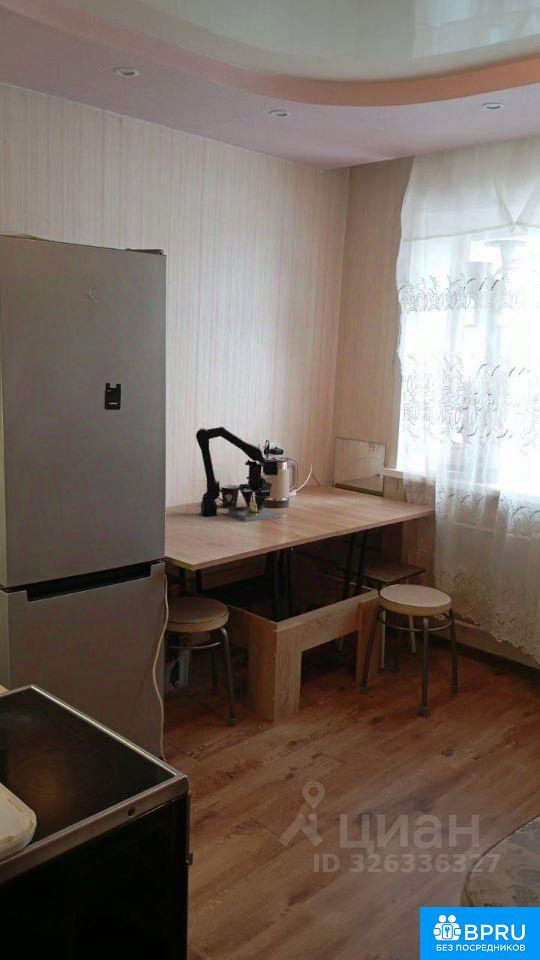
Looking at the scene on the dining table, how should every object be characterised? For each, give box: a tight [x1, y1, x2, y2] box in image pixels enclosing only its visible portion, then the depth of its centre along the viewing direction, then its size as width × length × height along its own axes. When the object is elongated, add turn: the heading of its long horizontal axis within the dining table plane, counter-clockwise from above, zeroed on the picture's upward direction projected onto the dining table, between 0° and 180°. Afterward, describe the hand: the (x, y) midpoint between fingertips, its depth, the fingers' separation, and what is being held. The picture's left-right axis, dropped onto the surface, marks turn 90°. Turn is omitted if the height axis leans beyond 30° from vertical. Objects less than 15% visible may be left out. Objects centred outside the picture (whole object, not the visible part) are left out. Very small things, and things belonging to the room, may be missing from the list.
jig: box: [227, 504, 281, 523], centre depth 356 cm, size 18×16×3 cm
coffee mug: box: [217, 484, 240, 509], centre depth 374 cm, size 12×9×10 cm
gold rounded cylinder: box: [249, 499, 258, 513], centre depth 356 cm, size 4×4×7 cm
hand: (253, 508), depth 356 cm, fingers open, 9 cm apart
